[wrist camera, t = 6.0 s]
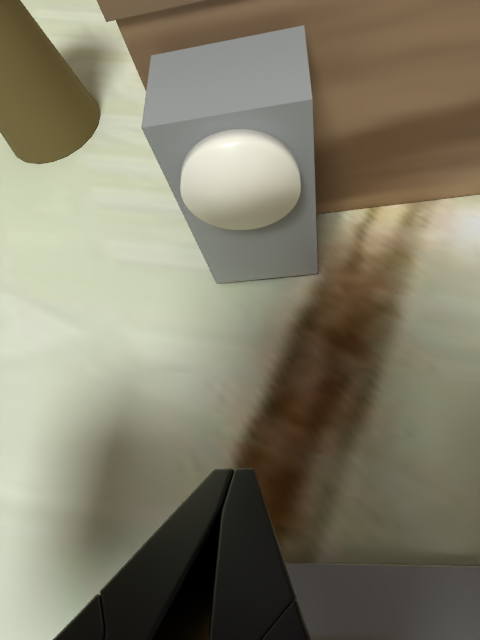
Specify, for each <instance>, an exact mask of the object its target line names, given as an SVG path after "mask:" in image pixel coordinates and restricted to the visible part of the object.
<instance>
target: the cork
mask: <svg viewBox="0 0 480 640" xmlns="http://www.w3.org/2000/svg"><path fill="white" fill-rule="evenodd" d="M99 118H100V111H99V107H98V104H97V103H96V102H95V100H94V99H93V98H92V96H91V95H90V94H89V92H88V91H87V90H86V88H85V87H84V86H83V84H82V83H81V81H80V80H79V79H78V77H77V76H76V75H75V73H74V72H73V71H72V69H71V68H70V67H69V65H68V64H67V63H66V61H65V60H64V59H63V57H62V56H61V55H60V53H59V52H58V51H57V49H56V48H55V47H54V45H53V44H52V43H51V41H50V40H49V38H48V37H47V36H46V34H45V33H44V32H43V30H42V29H41V28H40V26H39V25H38V24H37V22H36V21H35V20H34V18H33V17H32V16H31V14H30V13H29V12H28V10H27V9H26V8H25V6H24V5H23V4H22V2H21V1H20V0H0V132H1V134H2V135H3V137H4V138H5V140H6V141H7V143H8V144H9V146H10V147H11V149H12V150H13V152H14V153H15V155H16V156H17V157H18V158H19V159H21V160H23V161H25V162H28V163H36V164H41V163H48V162H54V161H56V160H59V159H61V158H64V157H66V156H68V155H70V154H71V153H73V152H74V151H76V150H77V149H79V148H80V147H82V146H83V145H84V144H85V143H86V142H87V141H88V140H89V138H90V137H91V136H92V135H93V133H94V131H95V130H96V128H97V126H98V123H99Z"/></svg>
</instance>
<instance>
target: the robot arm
mask: <svg viewBox="0 0 480 640" xmlns="http://www.w3.org/2000/svg"><path fill="white" fill-rule="evenodd" d="M53 640H312V638H311V636H310V633H309V630H308V628H307V625H306V622H305V619H304V616H303V613H302V610H301V607H300V604H299V602H298V600H297V596H296V593H295V590H294V587H293V584H292V581H291V578H290V575H289V572H288V569H287V566H286V563H285V560H284V557H283V554H282V551H281V548H280V545H279V542H278V539H277V536H276V533H275V530H274V527H273V524H272V521H271V518H270V515H269V512H268V509H267V506H266V503H265V500H264V497H263V494H262V491H261V488H260V485H259V482H258V479H257V476H256V473H255V471H254V469H253V468H237V469H235V470H233V469H231V468H229V469H215V470H214V471H212V473H211V474H210V475H209V476H208V477H207V478H206V479H205V480H204V481H203V482H202V483H201V484H200V485H199V486H198V487H197V488H196V490H195V491H194V492H193V493H192V494H191V495H190V496H189V497H188V498H187V499H186V500H185V501H184V502H183V503H182V504H181V505H180V507H179V508H178V509H177V510H176V511H175V512H174V513H173V514H172V515H171V516H170V517H169V518H168V519H167V520H166V521H165V523H164V524H163V525H162V526H161V527H160V528H159V529H158V530H157V531H156V532H155V533H154V534H153V535H152V536H151V537H150V538H149V540H148V541H147V542H146V543H145V544H144V545H143V546H142V547H141V548H140V549H139V550H138V551H137V552H136V553H135V554H134V555H133V557H132V558H131V559H130V560H129V561H128V562H127V563H126V564H125V565H124V566H123V567H122V568H121V569H120V570H119V571H118V573H117V574H116V575H115V576H114V577H113V578H112V579H111V580H110V581H109V582H108V583H107V584H106V585H105V586H104V587H103V588H102V590H101V591H100V595H99V594H97V595H96V596H95V597H94V598H93V599H92V600H91V601H90V602H89V603H88V604H87V605H86V606H85V607H84V608H83V610H82V611H81V612H80V613H79V614H78V615H77V616H76V617H75V618H74V619H73V620H72V621H71V622H70V623H69V624H68V625H67V626H66V627H65V628H64V629H63V630H62V631H61V632H60V633H59V634H58V635H57V636H56V637H55V638H54V639H53Z"/></svg>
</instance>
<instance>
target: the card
mask: <svg viewBox="0 0 480 640" xmlns="http://www.w3.org/2000/svg"><path fill="white" fill-rule="evenodd" d="M285 563H286V566H287V569H288V572H289V575H290V578H291V581H292V584H293V587H294V590H295V593H296V596H297V600H298V602H299V604H300V607H301V610H302V613H303V616H304V619H305V622H306V625H307V628H308V630H309V633H310V636H311V638H312V640H480V566H479V565H420V564H361V563H303V562H285Z"/></svg>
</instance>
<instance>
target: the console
mask: <svg viewBox="0 0 480 640" xmlns="http://www.w3.org/2000/svg"><path fill="white" fill-rule="evenodd" d="M97 2H98V4H99V6H100V9H101V11H102V13H103V15H104V18H105V20H106V22H108V21H113V20H116V22H117V24H118V27H119V29H120V31H121V34H122V36H123V38H124V41H125V43H126V45H127V48H128V50H129V52H130V55H131V57H132V59H133V62H134V64H135V66H136V69H137V71H138V73H139V76H140V78H141V80H142V83H143V85H144V87H145V90H146V91H147V83H148V76H149V68H150V61H151V55H156V54H161V53H166V52H172V51H177V50H182V49H187V48H192V47H197V46H202V45H207V44H212V43H217V42H222V41H227V40H232V39H237V38H242V37H247V36H252V35H258V34H263V33H268V32H273V31H278V30H283V29H288V28H293V27H298V26H303V25H304V28H305V37H306V46H307V55H308V64H309V73H310V82H311V91H312V100H313V132H314V165H315V197H316V214H320V213H329V212H337V211H345V210H353V209H361V208H370V207H378V206H386V205H394V204H403V203H411V202H419V201H427V200H435V199H444V198H452V197H460V196H468V195H477V194H480V0H97Z"/></svg>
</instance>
